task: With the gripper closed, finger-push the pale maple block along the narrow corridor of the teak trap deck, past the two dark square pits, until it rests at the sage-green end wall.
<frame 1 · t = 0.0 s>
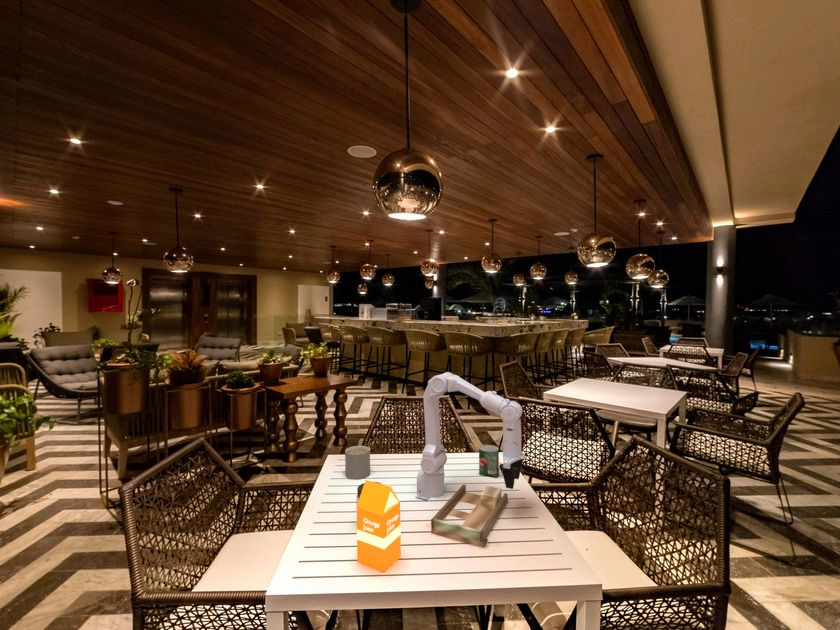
hand: (512, 483, 121), 10 cm above the table, fingers open, 7 cm apart
jar: (371, 527, 115), on the table
trap deck: (472, 518, 118), on the table
maple block: (491, 503, 125), point 1 cm above the table, touching trap deck
orange juice: (379, 560, 99), on the table
canned tomato: (489, 475, 151), on the table
coffee mug: (360, 473, 155), on the table
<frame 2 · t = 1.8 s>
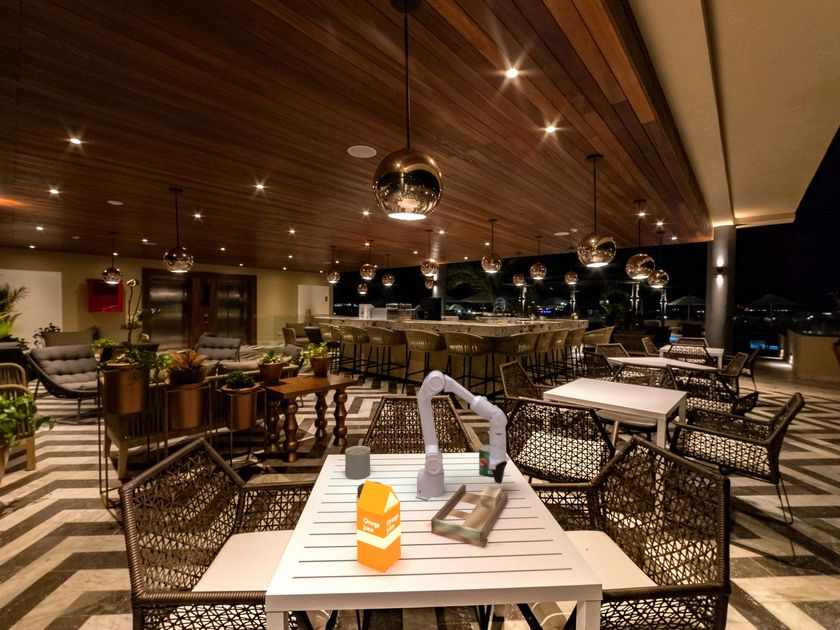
hand: (498, 482, 132), 5 cm above the table, fingers closed
nothing on the table moved.
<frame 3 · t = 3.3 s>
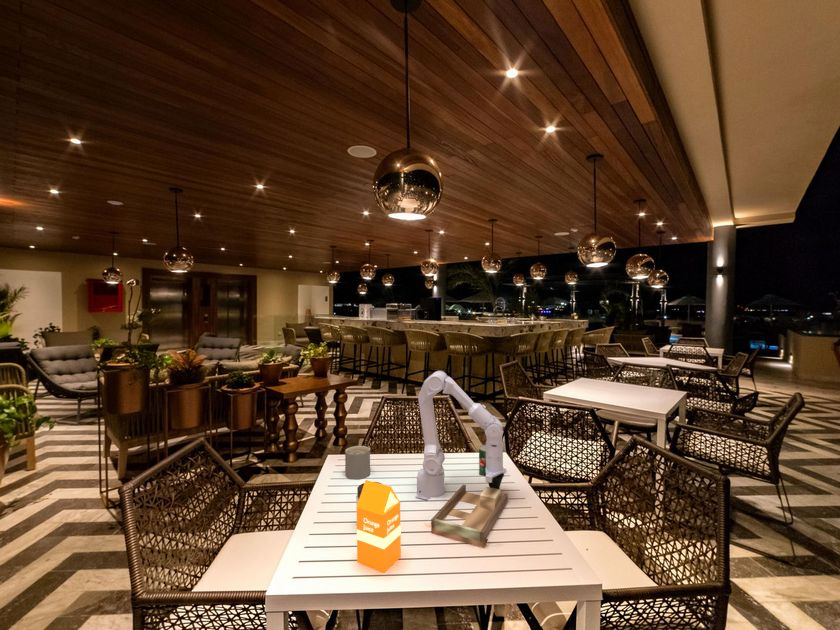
hand: (494, 495, 129), 2 cm above the table, fingers closed
maple block: (490, 504, 124), point 2 cm above the table, touching gripper
everything else where it was.
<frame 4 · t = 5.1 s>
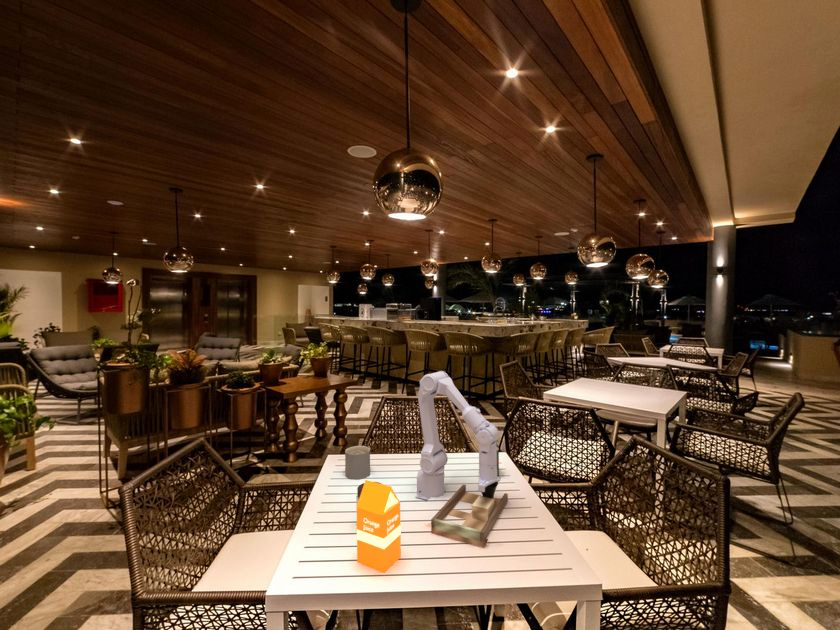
hand: (488, 504, 122), 2 cm above the table, fingers closed
maple block: (483, 514, 118), point 1 cm above the table, touching gripper, trap deck
everything else where it was.
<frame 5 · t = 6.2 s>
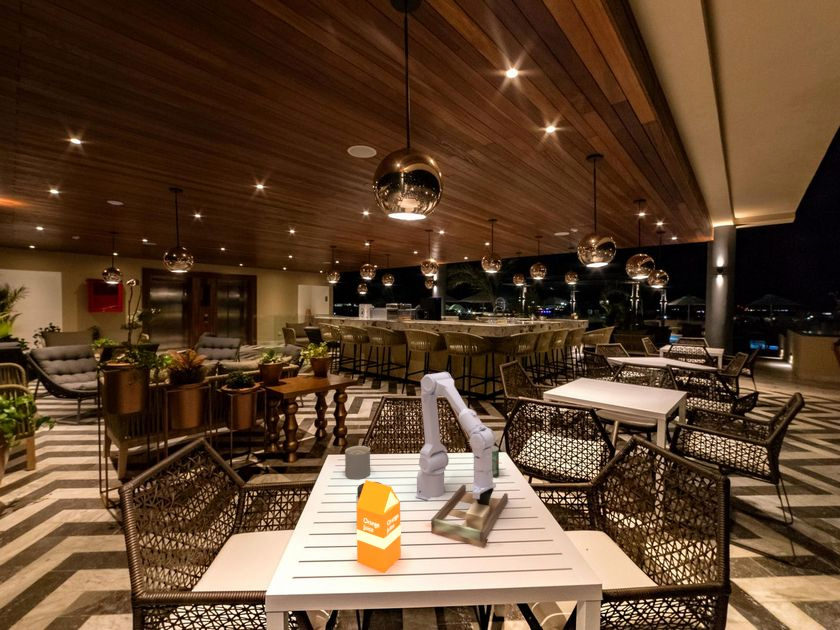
hand: (483, 512, 118), 2 cm above the table, fingers closed
maple block: (478, 522, 113), point 1 cm above the table, touching gripper, trap deck
everything else where it was.
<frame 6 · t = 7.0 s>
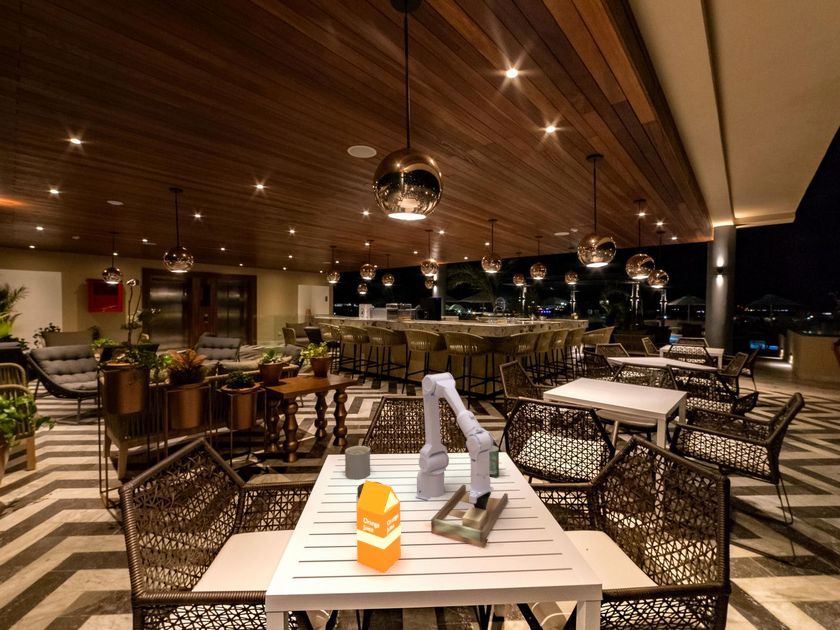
hand: (480, 516, 115), 2 cm above the table, fingers closed
maple block: (474, 527, 111), point 1 cm above the table, touching gripper, trap deck
everything else where it was.
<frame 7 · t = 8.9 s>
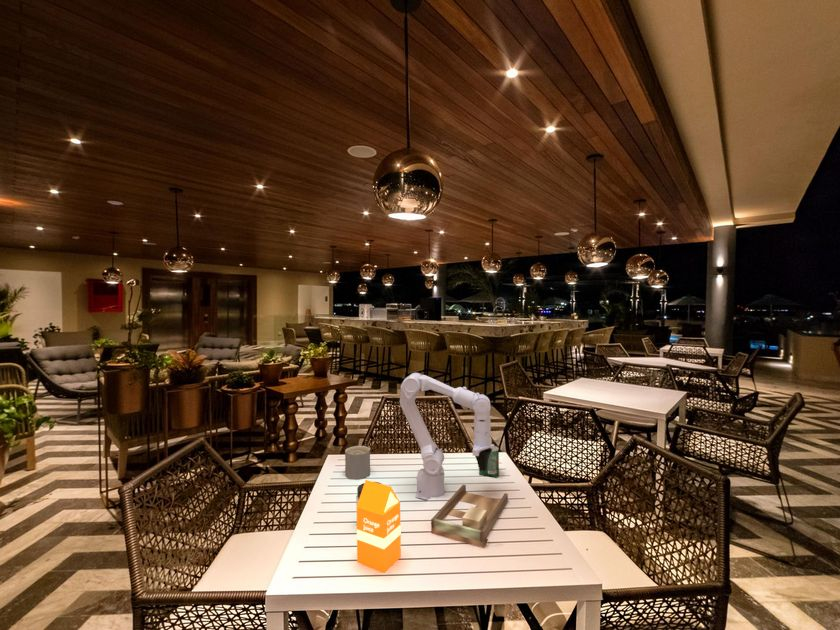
hand: (482, 470, 130), 10 cm above the table, fingers closed
maple block: (474, 527, 111), point 1 cm above the table, touching trap deck
everything else where it was.
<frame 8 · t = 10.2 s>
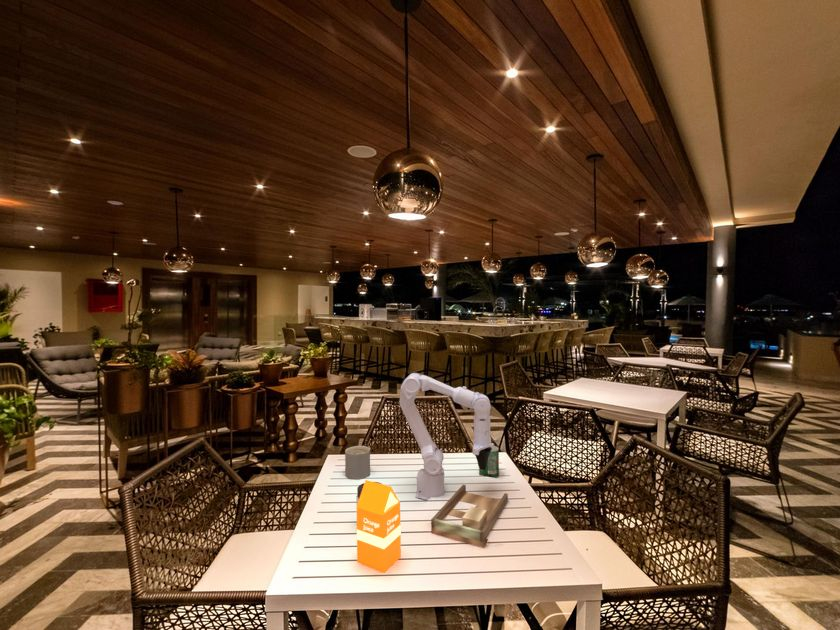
hand: (482, 468, 131), 10 cm above the table, fingers closed
nothing on the table moved.
at the end: maple block inside the target area (0.5 cm from its centre), point 1.5 cm above the table; maple block tilted 0° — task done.
